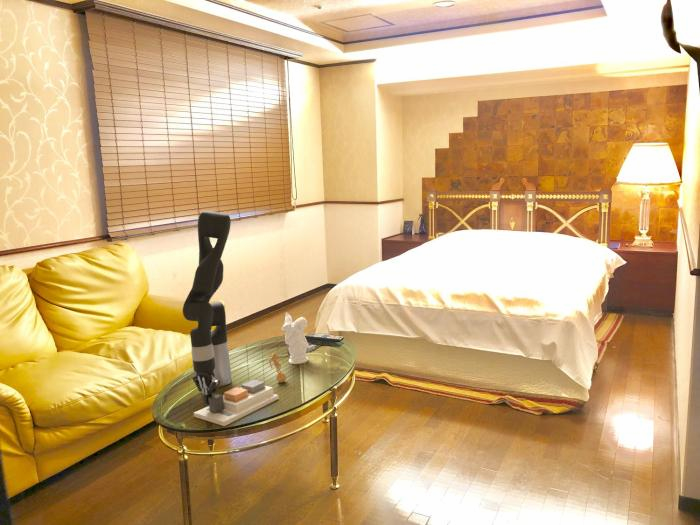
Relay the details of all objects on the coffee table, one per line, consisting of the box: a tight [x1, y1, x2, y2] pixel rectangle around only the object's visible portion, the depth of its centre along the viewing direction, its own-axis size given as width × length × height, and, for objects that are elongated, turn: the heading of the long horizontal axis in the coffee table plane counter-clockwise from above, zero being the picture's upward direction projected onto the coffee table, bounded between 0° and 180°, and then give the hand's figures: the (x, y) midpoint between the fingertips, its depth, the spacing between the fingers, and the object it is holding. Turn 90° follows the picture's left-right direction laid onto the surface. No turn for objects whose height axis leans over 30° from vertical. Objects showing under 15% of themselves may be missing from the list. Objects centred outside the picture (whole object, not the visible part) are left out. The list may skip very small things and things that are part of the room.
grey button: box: [241, 379, 266, 394], centre depth 213 cm, size 6×6×3 cm
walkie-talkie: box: [287, 342, 320, 356], centre depth 270 cm, size 9×4×20 cm
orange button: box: [223, 386, 248, 402], centre depth 206 cm, size 6×6×3 cm
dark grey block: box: [208, 393, 224, 413], centre depth 201 cm, size 3×4×5 cm
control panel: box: [193, 385, 279, 427], centre depth 207 cm, size 16×26×4 cm, turn 143°
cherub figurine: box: [280, 311, 309, 365], centre depth 251 cm, size 12×12×22 cm
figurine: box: [268, 352, 287, 384], centre depth 229 cm, size 8×6×12 cm
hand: (208, 403), depth 203 cm, fingers closed
